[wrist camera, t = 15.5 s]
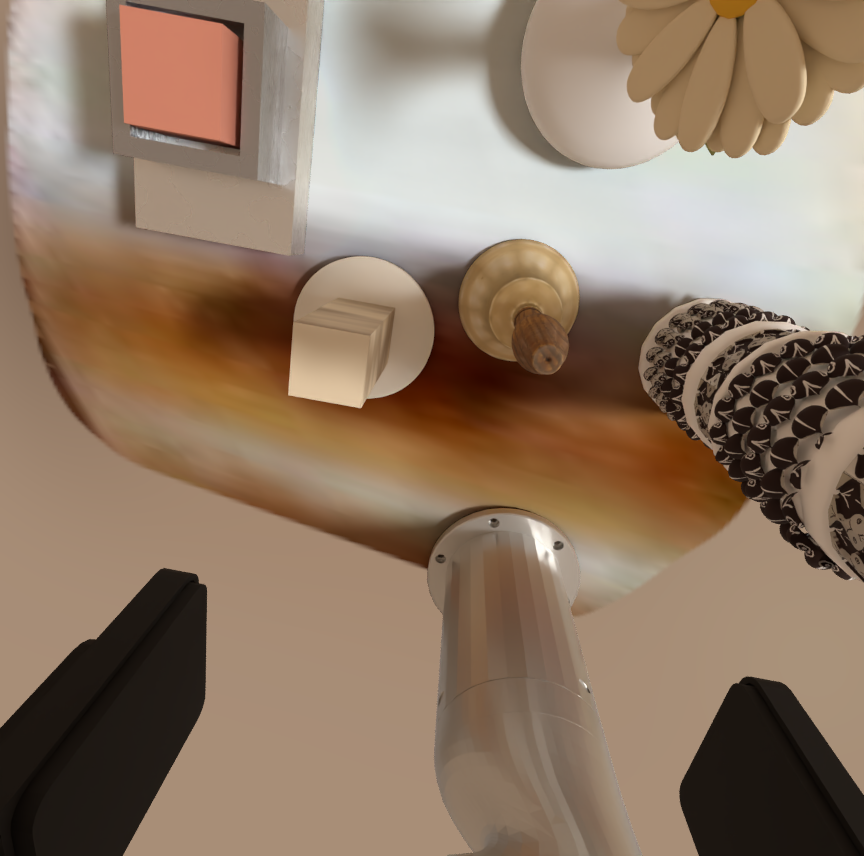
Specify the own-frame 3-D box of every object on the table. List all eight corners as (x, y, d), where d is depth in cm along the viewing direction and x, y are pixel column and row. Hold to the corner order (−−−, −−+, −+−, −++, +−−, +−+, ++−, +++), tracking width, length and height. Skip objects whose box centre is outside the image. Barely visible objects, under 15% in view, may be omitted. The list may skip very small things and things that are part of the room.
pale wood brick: (387, 363, 38) (360, 408, 28) (333, 353, 38) (288, 394, 28) (395, 307, 36) (369, 335, 27) (338, 297, 36) (293, 322, 27)
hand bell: (556, 373, 38) (613, 467, 23) (445, 345, 38) (431, 422, 23) (596, 256, 35) (690, 278, 20) (476, 225, 35) (481, 224, 20)
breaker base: (304, 253, 36) (271, 258, 30) (161, 227, 36) (99, 227, 30) (326, -34, 30) (291, -99, 24) (156, -65, 30) (78, -138, 24)
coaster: (445, 384, 39) (444, 387, 38) (316, 404, 40) (313, 407, 39) (420, 243, 35) (419, 244, 35) (280, 270, 37) (276, 271, 36)
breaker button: (253, 152, 31) (220, 140, 27) (169, 136, 31) (124, 122, 27) (257, 52, 29) (222, 23, 25) (168, 35, 29) (119, 4, 25)
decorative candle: (604, 373, 38) (823, 610, 14) (699, 263, 35) (1172, 340, 11) (698, 443, 39) (1035, 761, 16) (797, 343, 36) (1395, 557, 13)
